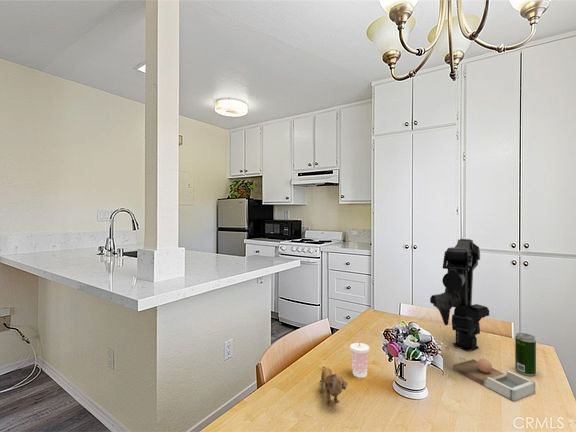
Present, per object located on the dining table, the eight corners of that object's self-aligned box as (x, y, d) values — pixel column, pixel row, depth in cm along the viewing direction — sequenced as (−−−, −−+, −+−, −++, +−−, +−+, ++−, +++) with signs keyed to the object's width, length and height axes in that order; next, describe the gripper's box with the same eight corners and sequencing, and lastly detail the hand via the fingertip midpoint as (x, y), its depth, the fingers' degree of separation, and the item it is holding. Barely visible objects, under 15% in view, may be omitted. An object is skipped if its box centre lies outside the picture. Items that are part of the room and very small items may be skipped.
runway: (453, 369, 103) (453, 365, 103) (473, 363, 107) (473, 359, 107) (486, 387, 92) (486, 382, 92) (508, 380, 96) (508, 375, 96)
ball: (471, 362, 100) (481, 357, 97) (479, 361, 102) (489, 356, 99) (479, 375, 97) (489, 370, 95) (487, 373, 99) (497, 369, 96)
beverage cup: (372, 373, 101) (372, 331, 101) (363, 381, 96) (363, 336, 96) (356, 367, 105) (356, 326, 105) (346, 374, 100) (346, 331, 100)
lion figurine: (350, 410, 82) (349, 376, 82) (332, 414, 81) (331, 380, 81) (327, 381, 96) (327, 353, 96) (311, 384, 95) (311, 355, 95)
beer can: (532, 378, 97) (532, 340, 97) (512, 371, 101) (512, 335, 101) (538, 373, 100) (538, 336, 100) (519, 366, 104) (519, 331, 104)
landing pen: (486, 387, 92) (486, 377, 92) (508, 380, 96) (508, 370, 96) (513, 401, 85) (513, 390, 85) (535, 392, 89) (535, 382, 89)
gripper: (418, 281, 112) (419, 324, 112) (466, 293, 94) (466, 344, 94) (441, 278, 116) (441, 320, 116) (490, 289, 99) (490, 338, 99)
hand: (457, 329), depth 106 cm, fingers open, 9 cm apart
